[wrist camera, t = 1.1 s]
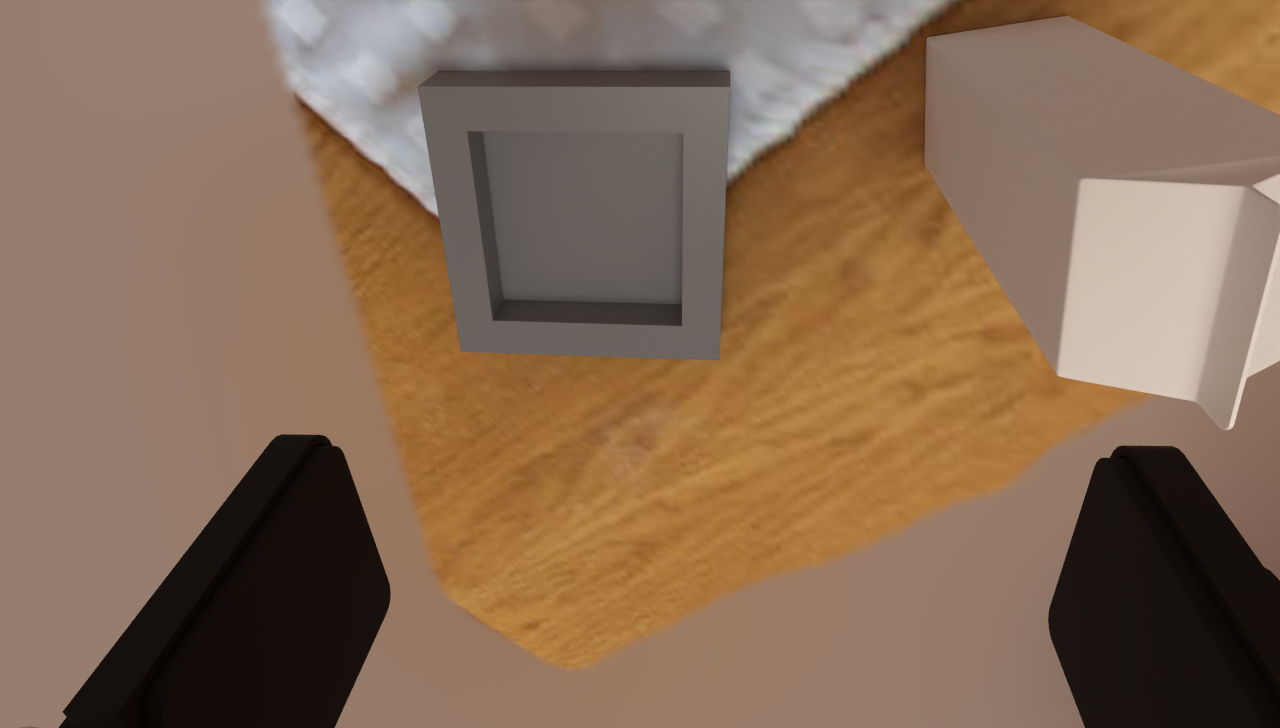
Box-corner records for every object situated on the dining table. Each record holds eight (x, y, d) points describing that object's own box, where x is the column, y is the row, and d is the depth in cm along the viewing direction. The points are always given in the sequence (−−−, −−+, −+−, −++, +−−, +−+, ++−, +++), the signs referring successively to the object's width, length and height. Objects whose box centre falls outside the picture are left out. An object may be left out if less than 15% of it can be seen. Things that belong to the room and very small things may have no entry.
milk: (923, 165, 39) (1091, 449, 20) (924, 34, 36) (1125, 228, 17) (1057, 148, 38) (1363, 431, 19) (1071, 11, 35) (1453, 192, 16)
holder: (438, 71, 39) (417, 86, 36) (730, 71, 37) (729, 86, 35) (475, 324, 46) (461, 351, 44) (720, 332, 45) (719, 360, 42)
